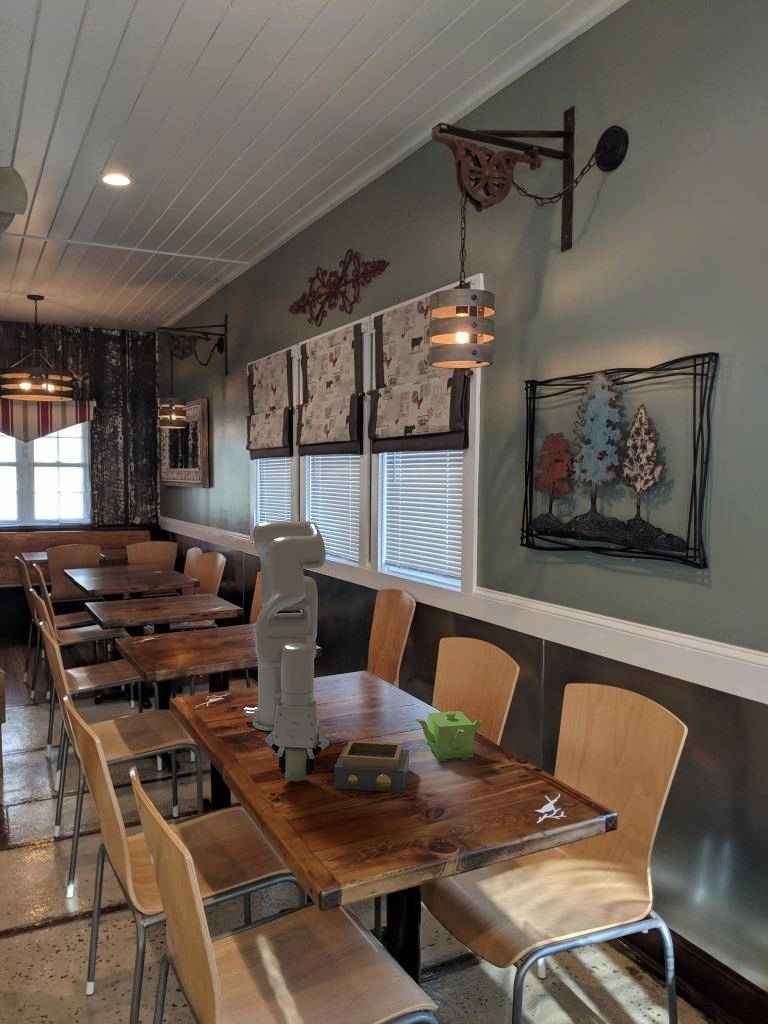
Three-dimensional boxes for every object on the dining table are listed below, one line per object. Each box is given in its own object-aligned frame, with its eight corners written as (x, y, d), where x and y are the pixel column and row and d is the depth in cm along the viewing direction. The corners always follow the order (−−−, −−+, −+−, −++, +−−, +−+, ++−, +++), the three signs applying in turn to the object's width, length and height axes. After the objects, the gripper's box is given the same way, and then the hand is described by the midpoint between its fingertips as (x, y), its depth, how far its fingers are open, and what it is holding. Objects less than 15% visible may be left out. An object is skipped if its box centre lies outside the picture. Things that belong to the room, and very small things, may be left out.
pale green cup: (282, 780, 174) (282, 749, 173) (290, 766, 181) (290, 736, 180) (305, 782, 173) (305, 750, 172) (312, 768, 180) (313, 738, 180)
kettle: (462, 771, 183) (463, 726, 182) (411, 759, 190) (411, 716, 189) (487, 751, 196) (487, 709, 195) (438, 741, 203) (438, 700, 202)
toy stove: (333, 790, 171) (333, 760, 171) (344, 765, 185) (344, 738, 185) (402, 795, 169) (403, 764, 169) (409, 770, 183) (409, 741, 183)
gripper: (256, 699, 172) (256, 776, 173) (330, 704, 169) (329, 782, 171) (266, 689, 179) (265, 763, 181) (336, 693, 177) (336, 768, 178)
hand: (296, 771), depth 176 cm, fingers closed on pale green cup, 5 cm apart
